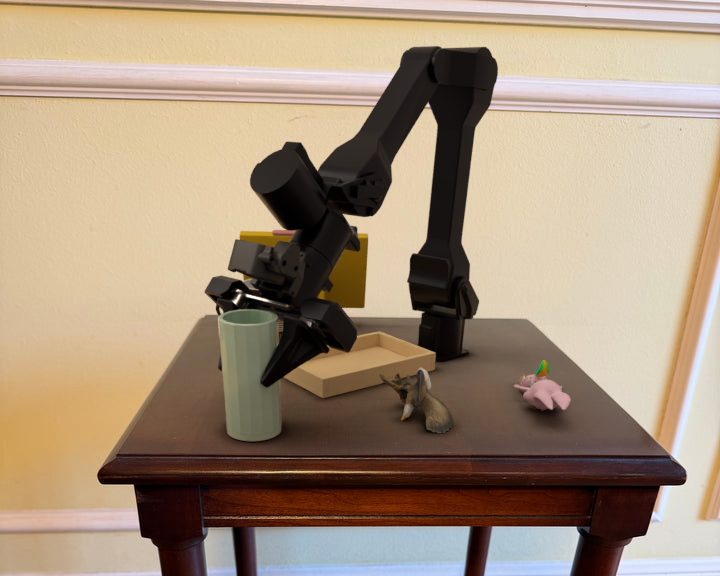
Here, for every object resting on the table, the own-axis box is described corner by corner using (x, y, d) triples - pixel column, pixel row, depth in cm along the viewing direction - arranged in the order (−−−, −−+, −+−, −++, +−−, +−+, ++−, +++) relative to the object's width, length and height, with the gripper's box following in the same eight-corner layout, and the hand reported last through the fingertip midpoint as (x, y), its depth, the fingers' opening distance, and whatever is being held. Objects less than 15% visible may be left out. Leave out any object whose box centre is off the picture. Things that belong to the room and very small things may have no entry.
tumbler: (263, 414, 82) (258, 306, 75) (292, 432, 77) (289, 319, 71) (217, 427, 78) (207, 314, 72) (243, 446, 74) (236, 328, 68)
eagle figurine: (365, 404, 83) (406, 417, 75) (389, 350, 82) (433, 358, 75) (410, 428, 87) (453, 442, 79) (433, 376, 87) (479, 386, 79)
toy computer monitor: (363, 322, 118) (366, 227, 111) (366, 336, 112) (369, 235, 104) (247, 321, 117) (242, 224, 110) (243, 334, 110) (237, 232, 103)
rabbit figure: (505, 395, 93) (529, 422, 79) (509, 351, 91) (534, 371, 77) (551, 397, 93) (583, 424, 79) (556, 353, 91) (590, 373, 77)
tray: (379, 347, 106) (379, 331, 105) (434, 370, 98) (436, 352, 97) (271, 370, 96) (270, 352, 94) (322, 398, 87) (322, 379, 86)
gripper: (210, 199, 74) (137, 319, 72) (341, 218, 64) (261, 359, 62) (265, 263, 84) (202, 372, 81) (387, 288, 73) (319, 413, 71)
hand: (241, 377), depth 74 cm, fingers closed on tumbler, 6 cm apart
